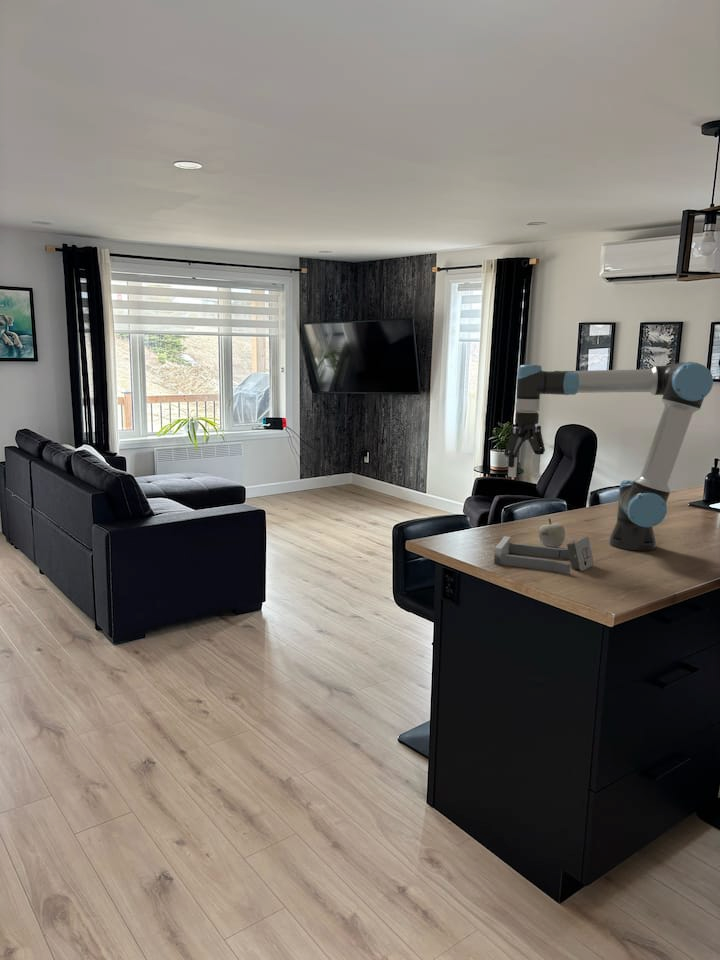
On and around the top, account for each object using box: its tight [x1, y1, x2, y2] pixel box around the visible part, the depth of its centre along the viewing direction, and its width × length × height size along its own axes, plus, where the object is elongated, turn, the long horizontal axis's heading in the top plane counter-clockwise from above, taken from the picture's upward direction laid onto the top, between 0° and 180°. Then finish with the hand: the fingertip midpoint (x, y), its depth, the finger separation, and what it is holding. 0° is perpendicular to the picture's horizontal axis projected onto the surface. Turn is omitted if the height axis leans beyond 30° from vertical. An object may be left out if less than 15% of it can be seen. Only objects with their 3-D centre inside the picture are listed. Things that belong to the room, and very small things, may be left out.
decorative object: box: [538, 518, 566, 548], centre depth 240 cm, size 9×9×10 cm
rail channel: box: [493, 535, 575, 576], centre depth 223 cm, size 23×21×5 cm
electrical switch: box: [566, 536, 595, 572], centre depth 218 cm, size 9×5×9 cm, turn 141°
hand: (523, 475), depth 238 cm, fingers open, 13 cm apart
